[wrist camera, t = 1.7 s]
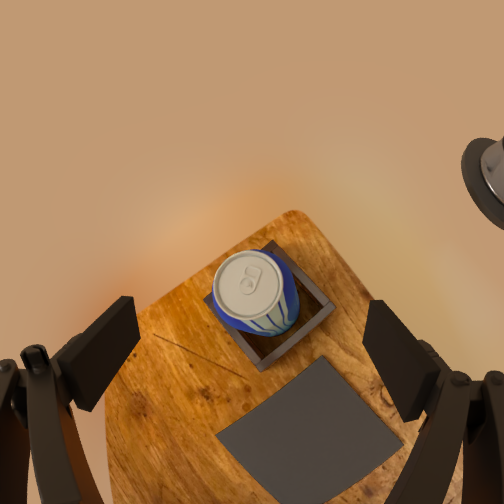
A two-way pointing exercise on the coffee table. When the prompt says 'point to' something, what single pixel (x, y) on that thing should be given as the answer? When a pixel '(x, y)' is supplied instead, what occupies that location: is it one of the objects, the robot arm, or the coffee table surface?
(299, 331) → the can holder
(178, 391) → the coffee table surface
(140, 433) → the coffee table surface
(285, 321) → the beer can
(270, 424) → the rubber mat
